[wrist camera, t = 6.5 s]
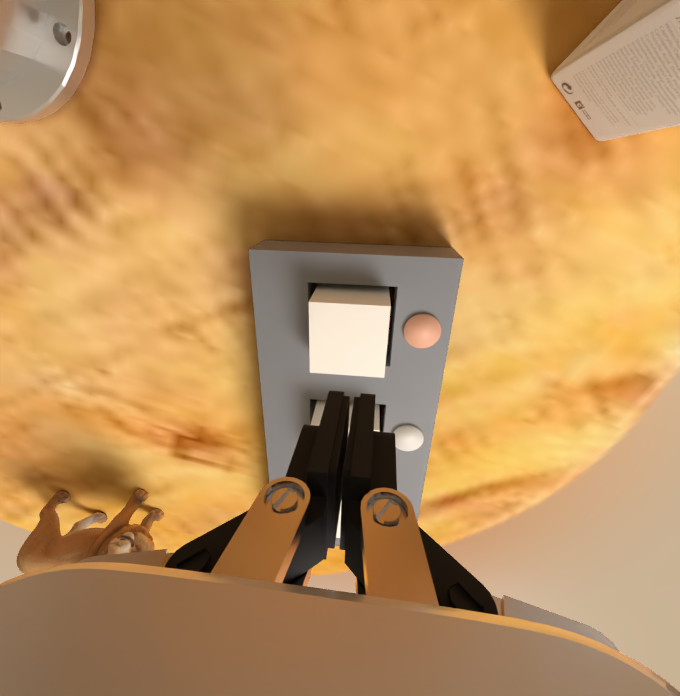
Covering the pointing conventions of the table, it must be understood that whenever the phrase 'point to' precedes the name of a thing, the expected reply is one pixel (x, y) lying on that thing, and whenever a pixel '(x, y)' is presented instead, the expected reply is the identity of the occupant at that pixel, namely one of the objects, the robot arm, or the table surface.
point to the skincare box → (626, 71)
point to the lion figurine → (85, 536)
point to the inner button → (349, 329)
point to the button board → (392, 391)
